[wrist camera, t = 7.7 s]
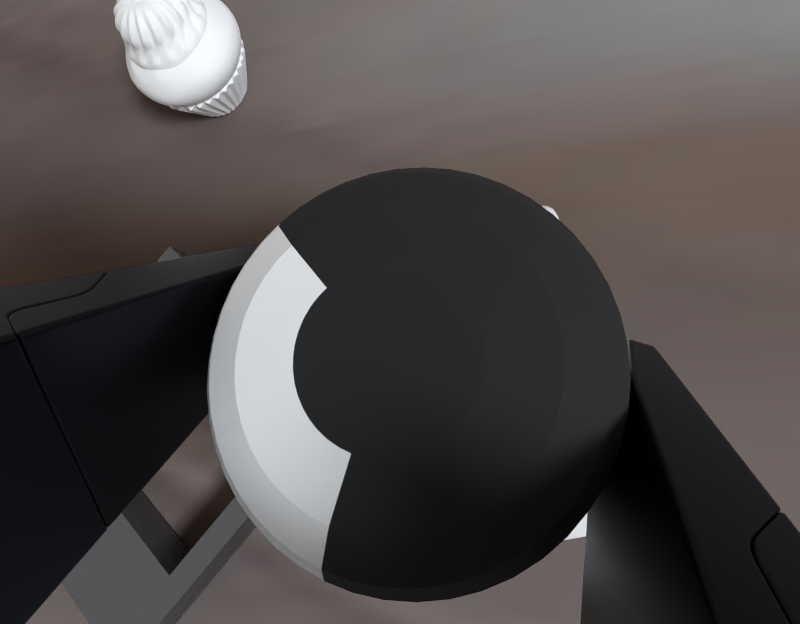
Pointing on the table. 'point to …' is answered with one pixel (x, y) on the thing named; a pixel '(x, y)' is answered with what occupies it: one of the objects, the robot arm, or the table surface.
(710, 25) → the table surface
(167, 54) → the muffin
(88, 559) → the grey square frame
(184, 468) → the table surface
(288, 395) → the medicine bottle
